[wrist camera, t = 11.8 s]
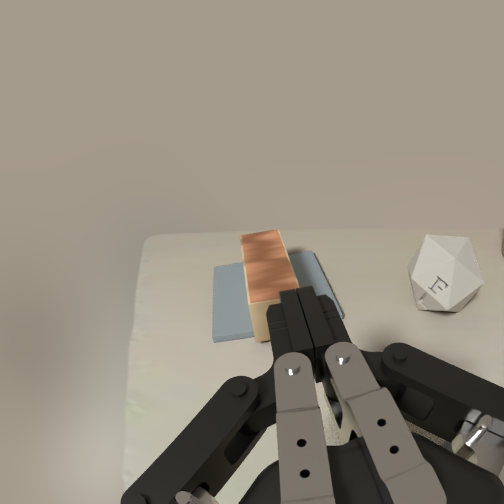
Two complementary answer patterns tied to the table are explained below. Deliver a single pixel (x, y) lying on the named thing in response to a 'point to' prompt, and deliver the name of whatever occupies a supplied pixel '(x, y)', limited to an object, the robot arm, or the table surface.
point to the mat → (236, 302)
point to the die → (444, 273)
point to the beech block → (265, 276)
